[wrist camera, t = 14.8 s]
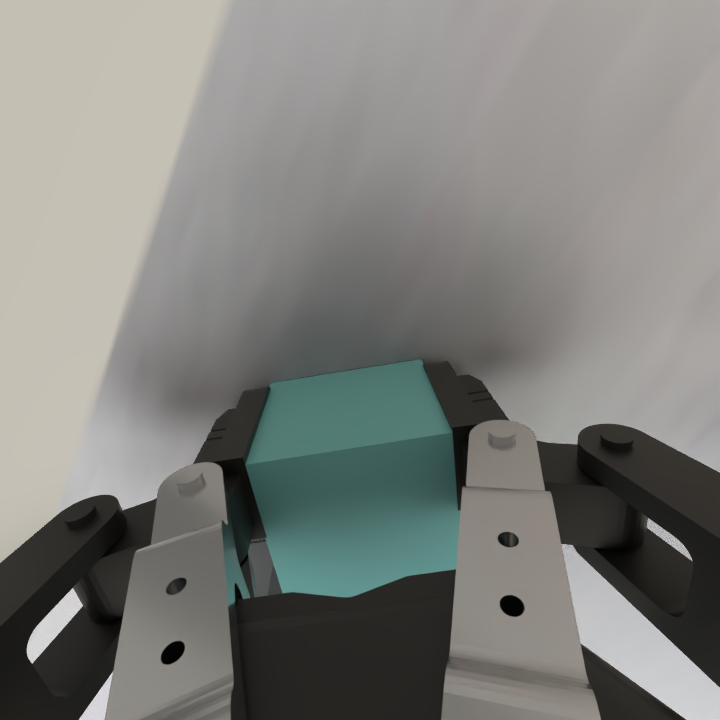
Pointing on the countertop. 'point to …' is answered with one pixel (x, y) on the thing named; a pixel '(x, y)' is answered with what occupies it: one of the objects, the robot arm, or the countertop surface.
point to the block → (355, 480)
